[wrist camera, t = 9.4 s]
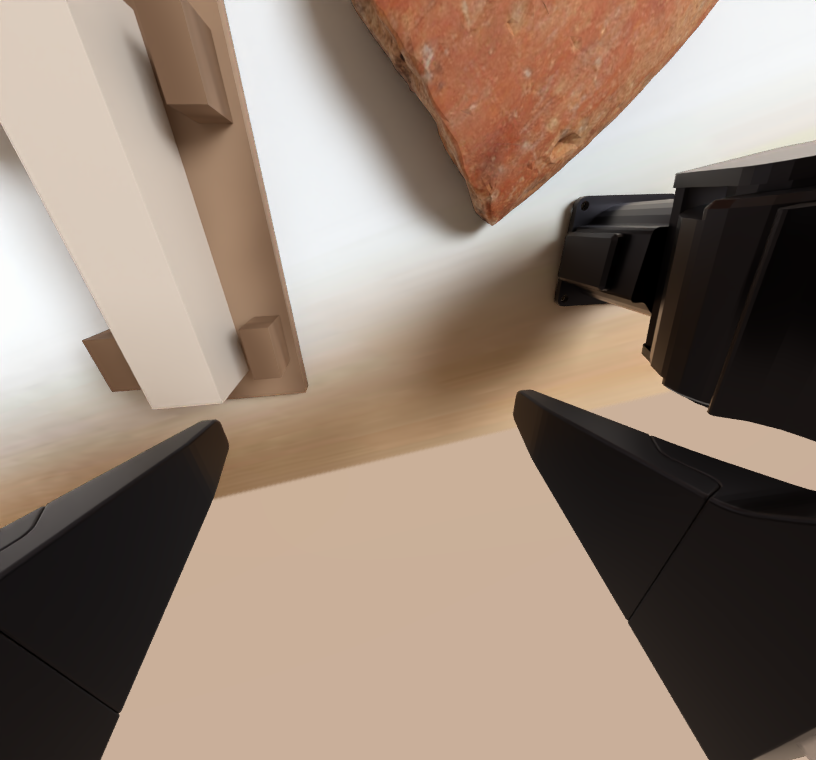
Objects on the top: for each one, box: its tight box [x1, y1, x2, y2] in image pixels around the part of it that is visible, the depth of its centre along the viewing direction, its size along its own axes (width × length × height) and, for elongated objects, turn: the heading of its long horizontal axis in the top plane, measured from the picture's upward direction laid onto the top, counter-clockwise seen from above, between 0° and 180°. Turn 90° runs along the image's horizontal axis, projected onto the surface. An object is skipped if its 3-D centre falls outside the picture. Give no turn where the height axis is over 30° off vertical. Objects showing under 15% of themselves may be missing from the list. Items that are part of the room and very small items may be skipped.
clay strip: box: [0, 0, 249, 410], centre depth 14 cm, size 4×16×4 cm, turn 2°
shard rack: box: [82, 0, 308, 399], centre depth 15 cm, size 10×20×4 cm, turn 2°
